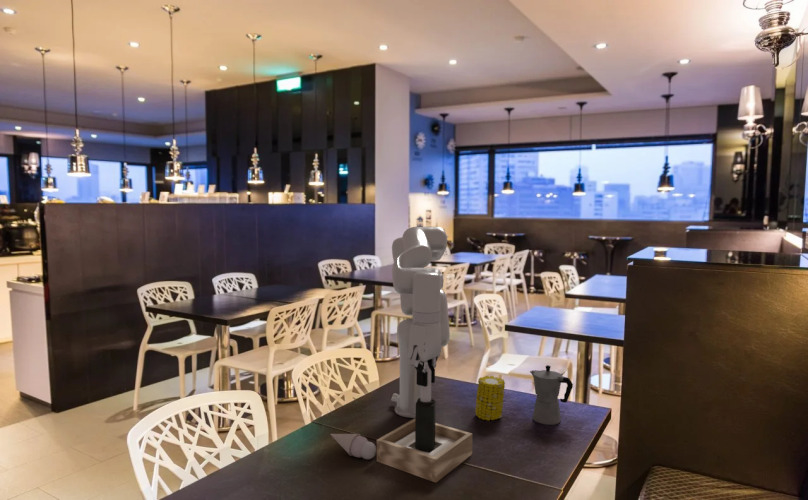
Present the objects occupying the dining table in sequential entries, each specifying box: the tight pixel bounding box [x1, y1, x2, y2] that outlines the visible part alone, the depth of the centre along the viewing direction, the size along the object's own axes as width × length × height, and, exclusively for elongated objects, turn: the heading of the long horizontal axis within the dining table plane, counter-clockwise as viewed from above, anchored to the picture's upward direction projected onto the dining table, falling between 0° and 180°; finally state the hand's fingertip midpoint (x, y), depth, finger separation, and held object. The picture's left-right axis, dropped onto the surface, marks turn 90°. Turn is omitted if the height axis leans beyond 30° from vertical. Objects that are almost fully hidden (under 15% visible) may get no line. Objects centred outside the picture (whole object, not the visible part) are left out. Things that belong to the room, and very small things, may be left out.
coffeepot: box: [529, 364, 574, 426], centre depth 171 cm, size 15×9×18 cm, turn 43°
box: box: [376, 418, 473, 483], centre depth 145 cm, size 19×19×6 cm
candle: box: [415, 360, 437, 452], centre depth 144 cm, size 5×5×25 cm
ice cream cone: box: [329, 433, 377, 460], centre depth 147 cm, size 6×6×15 cm
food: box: [474, 375, 506, 422], centre depth 174 cm, size 14×11×9 cm
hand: (425, 383), depth 144 cm, fingers closed on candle, 3 cm apart
